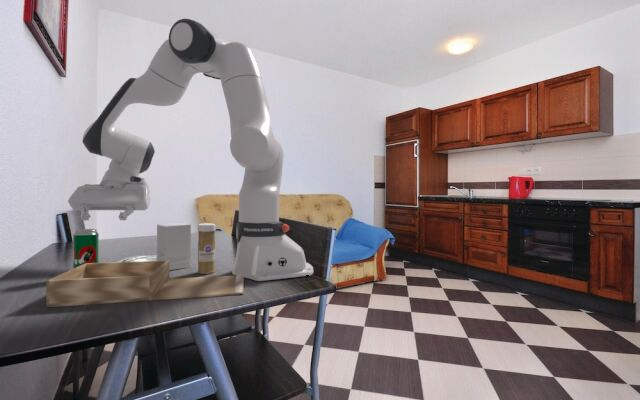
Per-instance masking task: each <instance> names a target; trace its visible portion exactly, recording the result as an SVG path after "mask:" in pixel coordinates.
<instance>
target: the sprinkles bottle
mask: <svg viewBox="0 0 640 400" xmlns="http://www.w3.org/2000/svg"><path fill="white" fill-rule="evenodd" d="M216 230H217V229H216V224H215V223H210V222H209V223H208V222H206V223H205V222H204V223H199V224H198V225H197V231H198V238H197V239H198V240H197V241H198V242H197V262H198V263H197V274H200V275H210V274H214V273H215V271H216V269H215V263H216V262H215V261H216Z"/></svg>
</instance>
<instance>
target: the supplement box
mask: <svg viewBox="0 0 640 400" xmlns="http://www.w3.org/2000/svg"><path fill="white" fill-rule="evenodd" d="M191 226H192V224H189V223H184V222H176V223H175V222H173V223H159V224H157V225H156V261H167V260H169V271H175V270H182V269H186V268H191V265H192V261H191V258H192V238H191V237H192V233H191V232H192V227H191Z"/></svg>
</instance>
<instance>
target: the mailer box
mask: <svg viewBox="0 0 640 400" xmlns="http://www.w3.org/2000/svg"><path fill="white" fill-rule="evenodd" d="M244 280H245V278H244V277H243V276H238V275H234V274H233V275H219V276H218V275H217V276H199V277H182V278H181V277H178V278H177V277H176V278H175V277H173V278H170V270H169V260H167V261H157V260H144V261H143V260H141V261H116V262H115V261H114V262H113V261H112V262H99V263H85V264H83V265H81V266H78V267H76V268H74V269H73V268H72V269H69V270H67V271H66V272H63V273H61V274H58V275H57V276H54V277H51V278H49V279H48V280H46V281H45V287H46V288H45V289H46V290H45V292H46V294H45V295H46V296H45V297H46V298H45V299H46V300H45V301H46V302H45V304H46V306H45V307H46V308H52V307H53V308H54V307H55V308H56V307H71V306H73V307H74V306H87V305H101V304H102V305H104V304H115V303H132V302H133V303H134V302H147V301H148V302H150V301H162V300H163V301H164V300H176V299H177V300H179V299H180V300H181V299H191V298H192V299H194V298H206V297H207V298H210V297H224V296H225V297H226V296H227V297H228V296H239V295H240V294H242V295H244V287H245V286H244V282H245V281H244Z"/></svg>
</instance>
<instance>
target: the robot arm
mask: <svg viewBox="0 0 640 400" xmlns="http://www.w3.org/2000/svg"><path fill="white" fill-rule="evenodd" d="M198 73H202V74H203V75H204V76H205V77H208V78H211V79H214V80H220V82H221V83H220V84H221V88H222V91H223V94H224V98H225V103H226V107H227V111H228V116H229V124H230V125H229V127H230V137H231V138H230V142H229V143H230V144H229V149H230V152H231V155H232V157H233V159H234V160H235V161H236V162H237V164H238V165H240V166H241V167H242V168H244V176H243V181H242V184H241V188H240V190H239V194H238V221H237V224H236V242H237V246H236V253H235V254H236V256H235V260H234V264H233V268H232V271H231V274H232V275H233V276H234V275H238V276H243V277H244V279H250V280H253V281H257V282H264V281H271V280H281V279H289V278H291V279H292V278H299V277H307V276H306V275H309V276H312V275H313V274H314V266H313V265H312V264H310V263H309V262H307V260H306V255H305V251H304V249H303V247H301V246H300V245H299V244H298V243H297V242H295V241H294V240H293V239H291V238H290V236H288V235H287V233H288V232H289V231H290V226H289V225H288V224H287V223H283V222H282V221H280V193H281V192H280V191H281V183H282V182H281V181H282V175H283V168H284V167H283V165H284V164H283V163H284V150H283V147H282V145H281V144H280V142H278V140H276V138H275V136H274V134H273V130H272V129H273V128H272V124H271V117H270V106H269V102H268V99H267V96H266V91H265V86H264V83H263V79H262V76H261V72H260V69H259V67H258V64H257V62H256V59H255V56H254V55H253V52H252V51H251V49H250V48H249V47H248V46H247V45H246V44H244V43H242V42H237V41H232V42H227V43H226V42H225V41H224V40H223V39H222V38H221V37H220V36H219V35H218V34H216V33H215V32H213V31H212V30H210V29H209V28H207V27H205V26H204V25H203V24H202V23H200V22H198V21H196V20H194V19H190V18H181V19H178V20H177V21H175V22H174V23H173V24H172V26H171V27H170V30H169V32H168V39H166V40H165V41H164V42H163V43H162V44H161V45H160V46H159V48H158V49H157V51H156V52H155V54H154V55H153V58H152V59H151V61H150V62H149V65H148V68H147V70H146V71H145V72H144V73H143V74H141V76H139V77H130V78H128V79H127V80H126V81H125V82H123V84H122V85H121V86H120V88H119V89H118V91H117V92H115V94H114V95H113V97H112V98H111V99H110V101H109V103H107V105H106V106H105V107H104V109H103V111H101V113H100V115H99V116H98V117H97V118H96V119H95V120H94V121H93V122H92V123H91V124H90V125H89V126H88V127H87V128H86V129H85V131H84V133H83V136H82V144H83V145H84V147H85V149H86V150H87V151H88V152H89V153H91V154H93V155H98V156H101V157H105V158H108V159H110V160H111V161H110V162H109V165H108V169H107V170H106V171H105V172H104V175H103V177H102V179H101V181H100V183H99V184H96V183H95V184H94V183H93V184H89V183H87V184H86V183H85V184H84V185H81V186H78V187H77V188H76V189H75V190H74V191H73V193H72V194H71V196H69V198H68V200H67V202H68V205H69V206H70V207H71V209H72V210H73V211H80V212H81V214H80V216H79V217H80V220H81V221H89V220H90V219H91V215H90V213H89V212H90V211H122V212H120V213H119V215H118V219H119V221H127V219H128V217H129V216H130V215H132V214H133V213H134V212H135V211H146V210H148V209H149V207H150V203H151V197H150V194H151V193H150V192H151V191H150V187H149V184H148V182H147V179H146V178H144V177H141V176H140V174H143V173H144V172H146V171H148V170H149V168H150V166H151V164H152V162H153V161H152V160H153V157H154V155H155V147H154V146H153V143H152V142H151V141H149V140H147V139H145V138H142V137H141V136H138V135H135V134H134V133H133V134H132V133H130V132H128V131H125V130H124V129H121V128H118V127H117V126H116V125H115V123H116V121H117V120H118V119H119V117H120V116H121V114H122V113H123V112H124V111H125V110H126V108H127V107H128V106H130V105H132V104H145V105H150V106H156V107H157V106H158V107H167V106H173V105H175V104H177V103H179V102H180V100H181V99H182V98H183V96H184V95H185V93H186V91H187V89H188V87H189V86H190V85H189V84H190V82H191V80H192V78H193V77H194V76H195V75H197V74H198Z"/></svg>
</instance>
